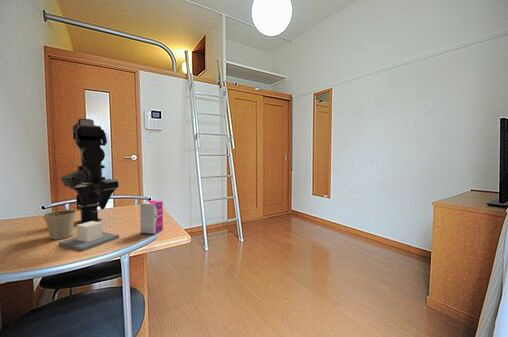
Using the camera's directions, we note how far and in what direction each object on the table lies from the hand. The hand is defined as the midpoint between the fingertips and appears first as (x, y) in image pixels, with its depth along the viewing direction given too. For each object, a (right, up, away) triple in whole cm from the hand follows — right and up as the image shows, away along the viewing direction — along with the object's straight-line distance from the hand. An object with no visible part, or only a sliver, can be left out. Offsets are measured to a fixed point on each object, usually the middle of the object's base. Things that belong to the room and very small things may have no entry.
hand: (93, 207), depth 81 cm
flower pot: (-13, -11, +2) cm, 17 cm away
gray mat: (0, -11, -2) cm, 11 cm away
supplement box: (+17, -11, +7) cm, 21 cm away
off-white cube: (0, -10, -2) cm, 10 cm away
